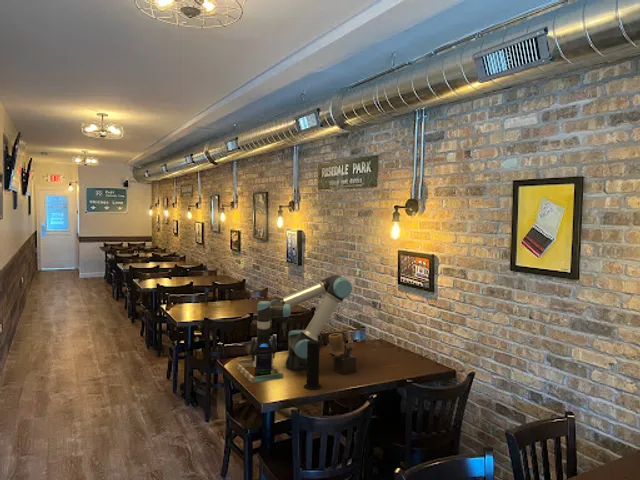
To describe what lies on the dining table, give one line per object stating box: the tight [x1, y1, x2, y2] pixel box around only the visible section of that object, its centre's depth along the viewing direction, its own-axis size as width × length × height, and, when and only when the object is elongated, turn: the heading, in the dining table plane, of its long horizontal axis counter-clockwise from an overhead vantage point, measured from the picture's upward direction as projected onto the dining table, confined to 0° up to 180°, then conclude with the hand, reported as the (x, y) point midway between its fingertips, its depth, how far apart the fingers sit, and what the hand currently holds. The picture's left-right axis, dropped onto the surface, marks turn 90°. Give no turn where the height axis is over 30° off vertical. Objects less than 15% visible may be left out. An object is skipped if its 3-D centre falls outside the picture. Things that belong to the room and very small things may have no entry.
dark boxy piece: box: [332, 344, 357, 376], centre depth 288 cm, size 16×11×18 cm
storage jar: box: [254, 346, 272, 377], centre depth 278 cm, size 10×10×15 cm
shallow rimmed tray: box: [235, 357, 284, 384], centre depth 285 cm, size 29×19×5 cm, turn 28°
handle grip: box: [303, 340, 322, 391], centre depth 263 cm, size 10×26×10 cm
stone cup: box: [328, 332, 352, 356], centre depth 323 cm, size 15×12×15 cm
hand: (263, 365), depth 278 cm, fingers closed on storage jar, 10 cm apart
